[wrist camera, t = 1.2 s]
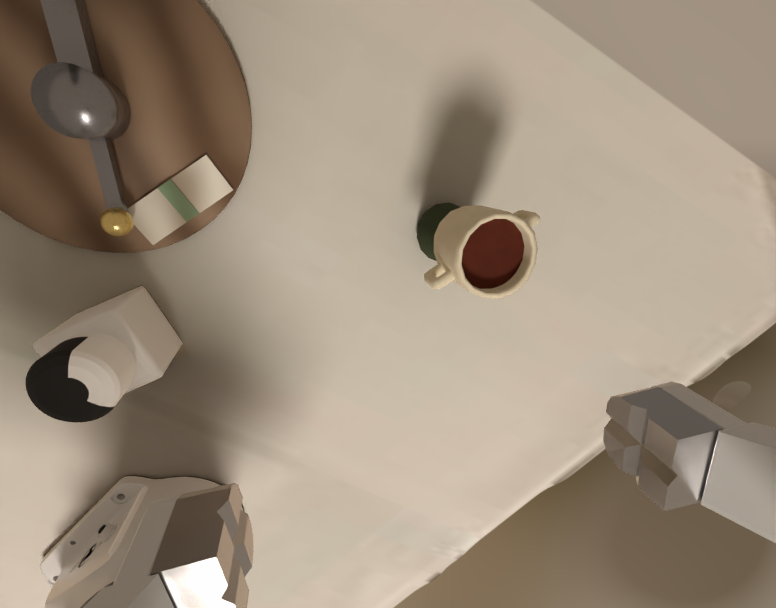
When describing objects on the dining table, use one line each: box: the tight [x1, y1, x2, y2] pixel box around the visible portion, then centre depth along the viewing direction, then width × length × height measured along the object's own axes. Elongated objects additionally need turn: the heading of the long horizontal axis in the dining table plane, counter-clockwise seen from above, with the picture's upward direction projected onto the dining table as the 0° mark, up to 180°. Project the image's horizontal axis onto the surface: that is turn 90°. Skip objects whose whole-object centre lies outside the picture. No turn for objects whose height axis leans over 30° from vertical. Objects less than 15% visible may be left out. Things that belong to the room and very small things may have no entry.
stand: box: [0, 0, 252, 252], centre depth 33 cm, size 24×24×1 cm
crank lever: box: [31, 0, 134, 236], centre depth 28 cm, size 5×22×9 cm, turn 8°
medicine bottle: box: [26, 286, 182, 422], centre depth 34 cm, size 7×7×12 cm
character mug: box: [417, 203, 540, 298], centre depth 38 cm, size 11×7×13 cm, turn 121°
